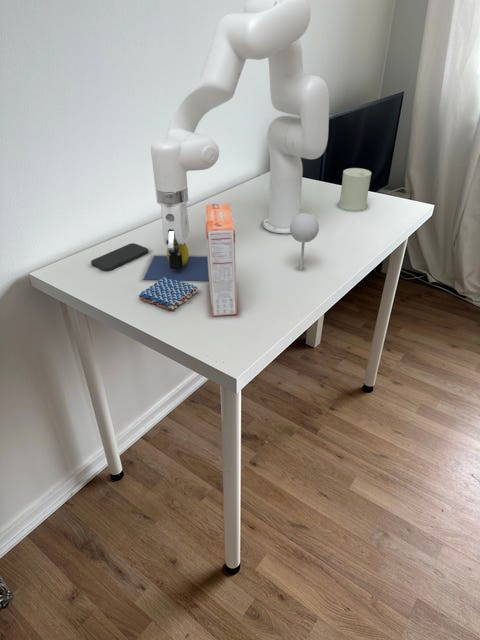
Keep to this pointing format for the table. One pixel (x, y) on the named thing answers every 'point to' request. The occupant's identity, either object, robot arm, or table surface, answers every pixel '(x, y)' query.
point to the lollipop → (304, 230)
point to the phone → (119, 256)
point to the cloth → (190, 272)
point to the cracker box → (221, 259)
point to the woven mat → (168, 293)
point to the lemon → (182, 251)
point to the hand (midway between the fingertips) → (178, 262)
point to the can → (355, 189)
